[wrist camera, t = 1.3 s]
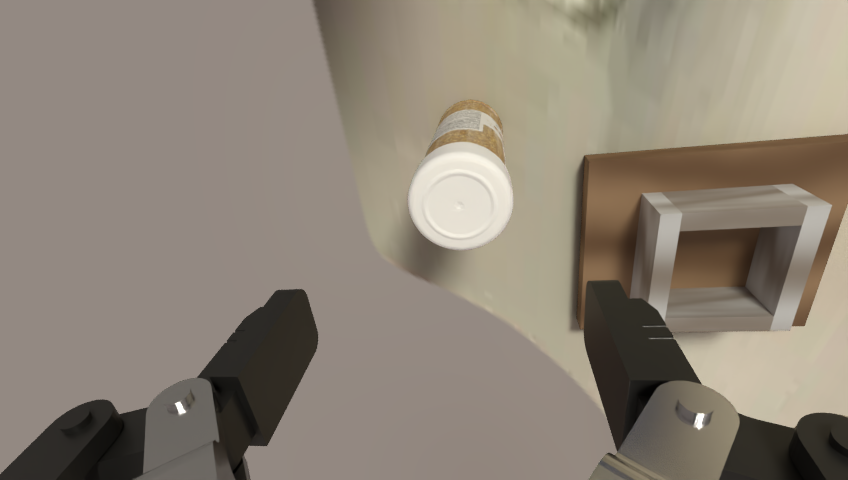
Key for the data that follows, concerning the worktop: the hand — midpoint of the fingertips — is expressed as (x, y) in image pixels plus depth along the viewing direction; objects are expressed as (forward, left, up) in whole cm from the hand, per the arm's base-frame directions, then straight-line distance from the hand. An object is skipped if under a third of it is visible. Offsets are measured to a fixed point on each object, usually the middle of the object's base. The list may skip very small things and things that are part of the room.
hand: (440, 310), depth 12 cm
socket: (+9, +16, -20) cm, 27 cm away
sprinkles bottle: (0, 0, -20) cm, 20 cm away
